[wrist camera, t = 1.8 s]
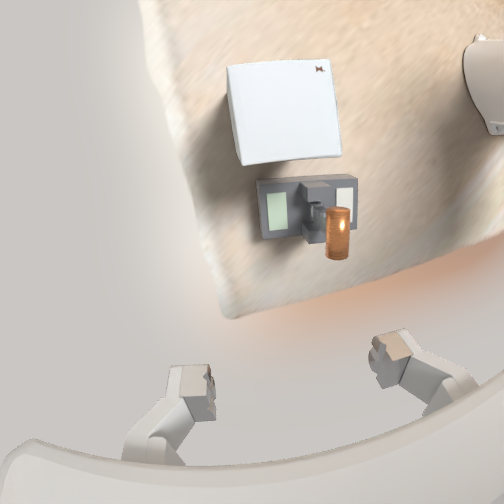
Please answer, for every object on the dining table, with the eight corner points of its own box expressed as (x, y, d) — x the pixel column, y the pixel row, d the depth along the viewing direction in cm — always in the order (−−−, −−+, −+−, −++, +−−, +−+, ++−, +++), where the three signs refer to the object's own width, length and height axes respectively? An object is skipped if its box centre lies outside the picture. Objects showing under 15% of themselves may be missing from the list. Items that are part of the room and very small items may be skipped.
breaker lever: (323, 191, 27) (354, 212, 20) (323, 227, 29) (351, 258, 22) (304, 192, 27) (330, 214, 20) (305, 229, 29) (329, 261, 22)
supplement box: (225, 90, 26) (224, 61, 14) (292, 84, 26) (334, 57, 14) (234, 154, 29) (239, 168, 17) (300, 146, 29) (345, 157, 18)
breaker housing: (347, 173, 31) (369, 183, 25) (346, 220, 33) (367, 238, 28) (255, 180, 30) (262, 190, 25) (260, 230, 33) (266, 250, 27)
